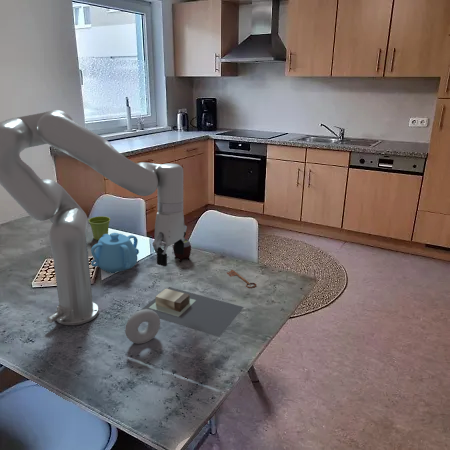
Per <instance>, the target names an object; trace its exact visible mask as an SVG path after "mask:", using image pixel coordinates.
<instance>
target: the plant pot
mask: <svg viewBox="0 0 450 450" xmlns="http://www.w3.org/2000/svg"><path fill="white" fill-rule="evenodd" d="M110 221H111V217H109V216H105V215H103V216H102V215H101V216H99V215H98V216H94V217H93V216H92V217H91V218H89V219H88V224H89V226H90V227H91V232H92V236H93V239H94V240H96V241H99V239H100V238H101V237H102V236H103V235H104V234H109V226H110Z"/></svg>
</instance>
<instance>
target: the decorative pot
mask: <svg viewBox="0 0 450 450" xmlns="http://www.w3.org/2000/svg"><path fill="white" fill-rule="evenodd" d="M131 239H133V242H132V240H131ZM137 246H138V237H137V236H135V235H133V234H131V235H128V236H127V235H125V234H121V233H118V232H112V233H110V234H109V233H108V234H104V235H103V236H102V237H101V238H100V239H99V240H97V243H95V244H94V245H92V247H91V249H90V252H91V253H90V254H91V255H92V257H93V259H92V260H91V262H90V264H91V266H92V267H94V268H95V267H98V268H100V269H101V270H102V271H105V272H107V273H109V274H110V275H111V274H116V273H120V272H123V271H127V270H130V269H132V268H133V267H134V266H135V265H136V264H137V263H138V255H139V253H140V251H139V249H138V248H137Z"/></svg>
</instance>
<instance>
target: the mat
mask: <svg viewBox="0 0 450 450" xmlns="http://www.w3.org/2000/svg"><path fill="white" fill-rule="evenodd" d="M167 289H170V290H174V291H177V292H181V293H185V294H189V295H190V303H189V304H188V305H187V306H186V307H185V308H184V309H183V310H182V311H181V312H178V311H175V310H172V309H169V308H165V307H162V306H158V305H156V297H154V299H152V300H151V301H150V302H149V303H148V304H146V305H145V306H144V307H142V309H140V310H143V309H149V310H153V311H154V312H156V313H157V315H158V316H159V318H160V320H163V321H167V322H169V323H173V324H175V325H178V326H183V327H184V328H189V329H192V330H195V331H199V332H202V333H204V334H209V335H212V336H215V337H217V338H220V337H221V335H223V333H224V332H225V331H226V330H227V329H228V328H229V326H230V325H232V323H233V321H234V320H235V319H236V318H237V317H238V316H239V314H240V312H241V311H242V310H243V309H244V308H245V307H244V306H241V305H237V304H234V303H230V302H227V301H222V300H218V299H214V298H212V297H208V296H204V295H200V294H196V293H192V292H189V291H185V290H181V289H178V288H174V287H172V286H171V287H170V286H169V287H168V288H167Z"/></svg>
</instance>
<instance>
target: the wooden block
mask: <svg viewBox="0 0 450 450" xmlns="http://www.w3.org/2000/svg"><path fill="white" fill-rule="evenodd" d="M155 298H156V305H158V306H162V307H165V308H169V309H172V310H175V311H178V312H181V311H182V310H183V309H184V308H185V307H186V306H187V305H188V304H189V303H190V295H189V294H185V293H181V292H177V291H174V290H170V289H168V288H165V289H163V290H162V291H160V292H159V293H158V294H157V295H155Z"/></svg>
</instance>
